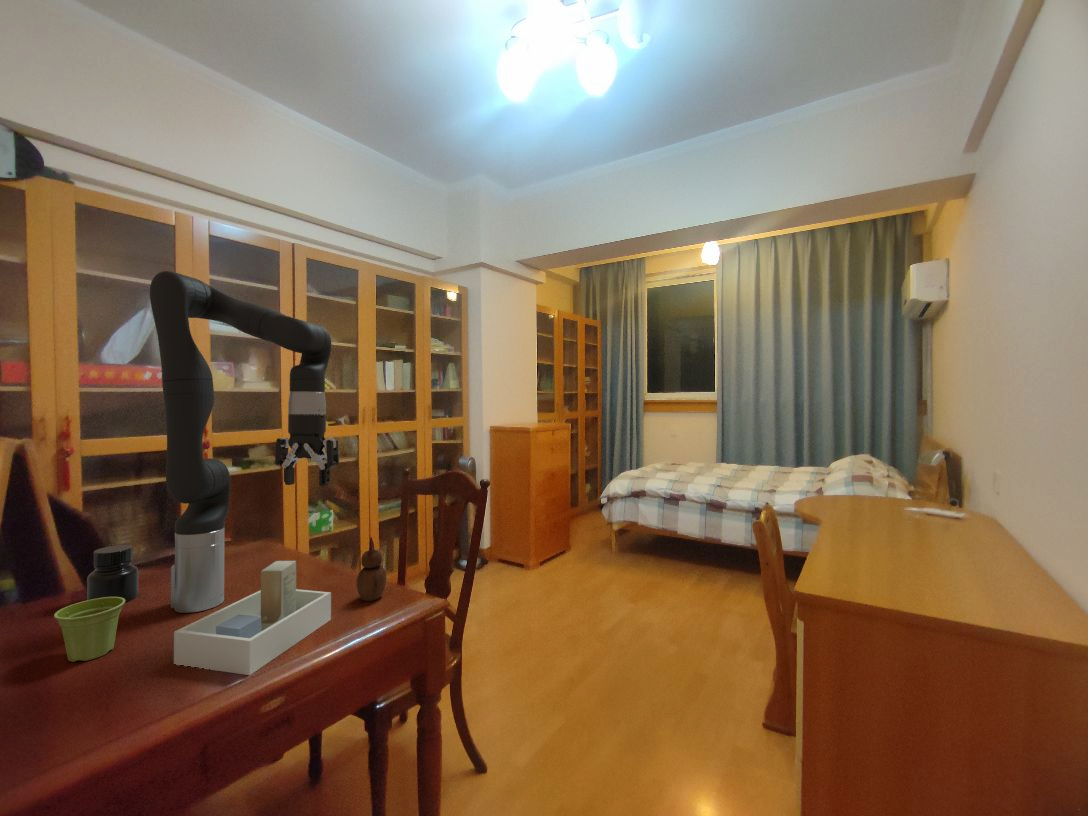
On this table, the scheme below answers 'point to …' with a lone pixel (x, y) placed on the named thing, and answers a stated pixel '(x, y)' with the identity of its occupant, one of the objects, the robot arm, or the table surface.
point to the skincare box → (277, 592)
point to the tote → (250, 654)
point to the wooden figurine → (371, 575)
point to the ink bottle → (113, 574)
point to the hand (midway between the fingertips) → (306, 485)
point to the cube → (240, 626)
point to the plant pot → (90, 627)
